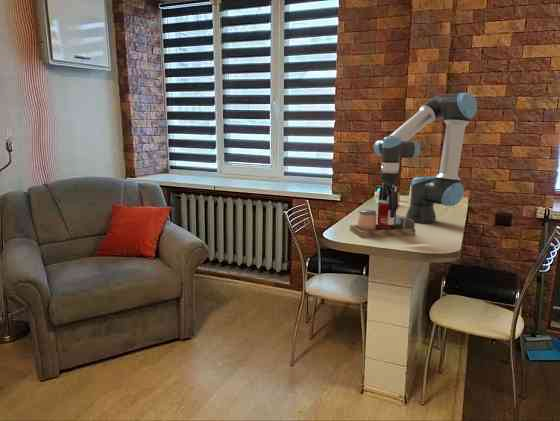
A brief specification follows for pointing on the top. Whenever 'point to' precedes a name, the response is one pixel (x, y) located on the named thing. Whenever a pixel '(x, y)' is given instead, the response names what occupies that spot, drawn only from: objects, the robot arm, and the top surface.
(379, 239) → the top surface
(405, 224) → the bar
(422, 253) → the top surface
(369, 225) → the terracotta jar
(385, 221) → the canned food
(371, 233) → the wooden box
